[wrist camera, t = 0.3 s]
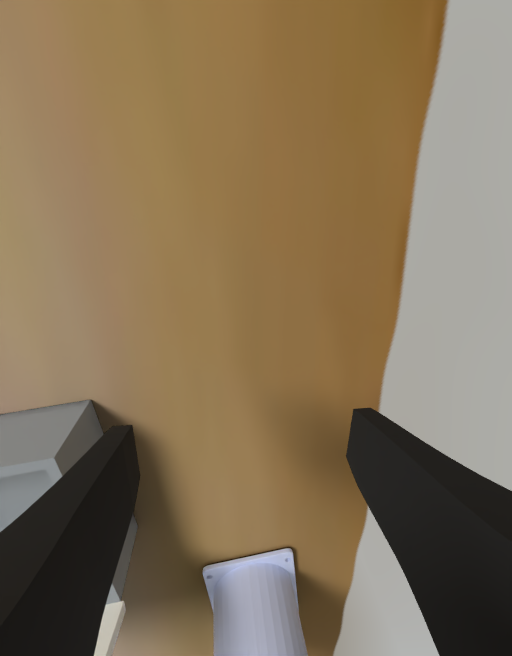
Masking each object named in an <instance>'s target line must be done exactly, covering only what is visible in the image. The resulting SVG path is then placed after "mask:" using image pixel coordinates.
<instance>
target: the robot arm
mask: <svg viewBox="0 0 512 656" xmlns="http://www.w3.org/2000/svg"><path fill="white" fill-rule="evenodd" d="M346 457H347V460H348V463H349V465H350V468H351V471H352V473H353V476H354V478H355V481H356V483H357V485H358V487H359V489H360V491H361V493H362V495H363V497H364V499H365V501H366V503H367V504H368V506H369V508H370V510H371V512H372V514H373V515H374V517H375V519H376V521H377V522H378V525H379V526H380V528H381V530H382V532H383V534H384V536H385V538H386V539H387V541H388V543H389V545H390V547H391V549H392V550H393V552H394V554H395V556H396V558H397V560H398V562H399V564H400V566H401V568H402V570H403V572H404V574H405V576H406V578H407V581H408V583H409V585H410V587H411V589H412V592H413V594H414V596H415V599H416V601H417V603H418V605H419V608H420V610H421V612H422V615H423V617H424V619H425V622H426V624H427V626H428V629H429V631H430V634H431V636H432V638H433V641H434V643H435V646H436V648H437V650H438V653H439V655H440V656H512V491H510V490H508V489H506V488H504V487H502V486H500V485H498V484H496V483H494V482H492V481H491V480H489V479H487V478H485V477H483V476H481V475H479V474H477V473H476V472H474V471H472V470H470V469H468V468H467V467H465V466H463V465H462V464H460V463H458V462H456V461H455V460H453V459H451V458H449V457H448V456H446V455H444V454H443V453H441V452H439V451H438V450H436V449H435V448H433V447H431V446H430V445H428V444H426V443H425V442H423V441H422V440H420V439H419V438H417V437H416V436H414V435H412V434H411V433H409V432H408V431H406V430H405V429H403V428H402V427H400V426H399V425H397V424H396V423H394V422H393V421H391V420H389V419H388V418H386V417H385V416H383V415H382V414H380V413H379V412H377V411H375V410H373V409H372V408H360V409H353V415H352V422H351V428H350V435H349V441H348V448H347V455H346ZM139 480H140V472H139V465H138V459H137V452H136V446H135V440H134V433H133V427H132V425H126V426H112V427H111V428H110V429H109V430H108V431H107V432H106V433H105V434H104V435H103V436H102V437H101V438H100V439H99V440H98V441H97V442H96V443H95V444H94V445H93V446H92V447H91V448H90V449H89V450H88V451H87V452H86V453H85V454H84V455H83V456H82V457H81V458H80V459H79V460H78V461H77V462H76V463H75V464H74V465H73V466H72V467H71V468H70V469H69V470H68V471H67V472H66V473H65V474H64V475H63V476H62V477H61V478H60V479H59V480H58V481H57V482H56V483H55V484H54V485H53V486H52V487H51V488H50V489H49V490H47V491H46V492H45V493H44V494H43V495H42V496H41V497H40V498H39V499H38V500H37V501H35V502H34V503H33V504H32V505H31V506H30V507H29V508H28V509H27V510H26V511H25V512H23V513H22V514H21V515H20V516H19V517H18V518H17V519H15V520H14V521H13V522H12V523H11V524H10V525H8V526H7V527H6V528H5V529H4V530H2V531H1V532H0V656H94V653H95V648H96V644H97V639H98V635H99V630H100V625H101V621H102V617H103V613H104V609H105V606H106V602H107V598H108V595H109V591H110V588H111V585H112V582H113V578H114V575H115V572H116V568H117V565H118V562H119V558H120V555H121V552H122V549H123V545H124V542H125V539H126V535H127V532H128V529H129V525H130V522H131V519H132V515H133V512H134V507H135V502H136V497H137V491H138V486H139ZM203 577H204V580H205V584H206V588H207V591H208V595H209V598H210V602H211V605H212V609H213V613H214V656H308V654H307V649H306V645H305V640H304V636H303V631H302V626H301V622H300V617H299V612H298V611H299V608H298V598H297V588H296V578H295V568H294V558H293V552H292V549H290V548H285V549H281V550H276V551H272V552H267V553H262V554H258V555H253V556H249V557H244V558H239V559H235V560H230V561H226V562H221V563H216V564H212V565H207V566H205V567H204V568H203Z"/></svg>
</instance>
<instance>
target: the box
mask: <svg viewBox="0 0 512 656" xmlns="http://www.w3.org/2000/svg"><path fill="white" fill-rule="evenodd" d="M103 435H104V434H103V431H102V428H101V426H100V423H99V420H98V418H97V415H96V412H95V409H94V407H93V404H92V401H91V400H85V401H79V402H73V403H67V404H61V405H55V406H49V407H43V408H37V409H31V410H25V411H19V412H13V413H7V414H0V532H1V531H2V530H4V529H5V528H6V527H7V526H8V525H10V524H11V523H12V522H13V521H14V520H15V519H17V518H18V517H19V516H20V515H21V514H22V513H23V512H25V511H26V510H27V509H28V508H29V507H30V506H31V505H32V504H33V503H34V502H35V501H37V500H38V499H39V498H40V497H41V496H42V495H43V494H44V493H45V492H46V491H47V490H49V489H50V488H51V487H52V486H53V485H54V484H55V483H56V482H57V481H58V480H59V479H60V478H61V477H62V476H63V475H64V474H65V473H66V472H67V471H68V470H69V469H70V468H71V467H72V466H73V465H74V464H75V463H76V462H77V461H78V460H79V459H80V458H81V457H82V456H83V455H84V454H85V453H86V452H87V451H88V450H89V449H90V448H91V447H92V446H93V445H94V444H95V443H96V442H97V441H98V440H99V439H100V438H101V437H102V436H103ZM137 528H138V525H137V523H136V520H135V517H134V514H133V515H132V519H131V522H130V525H129V529H128V532H127V535H126V539H125V542H124V545H123V549H122V552H121V555H120V558H119V562H118V565H117V568H116V572H115V575H114V578H113V582H112V585H111V588H110V591H109V595H108V598H107V602H106V605H107V604H111V603H116V602H121V598H122V593H123V589H124V585H125V580H126V576H127V572H128V567H129V563H130V559H131V554H132V550H133V546H134V541H135V537H136V533H137Z"/></svg>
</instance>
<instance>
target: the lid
mask: <svg viewBox="0 0 512 656" xmlns="http://www.w3.org/2000/svg"><path fill="white" fill-rule="evenodd" d="M125 612H126V608H125V604H124V601H121V602H116V603H111V604H107V605H106V606H105V609H104V613H103V617H102V621H101V625H100V630H99V635H98V639H97V644H96V648H95V653H94V656H112V653H113V650H114V647H115V644H116V641H117V637H118V634H119V631H120V628H121V624H122V621H123V618H124V615H125Z"/></svg>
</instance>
